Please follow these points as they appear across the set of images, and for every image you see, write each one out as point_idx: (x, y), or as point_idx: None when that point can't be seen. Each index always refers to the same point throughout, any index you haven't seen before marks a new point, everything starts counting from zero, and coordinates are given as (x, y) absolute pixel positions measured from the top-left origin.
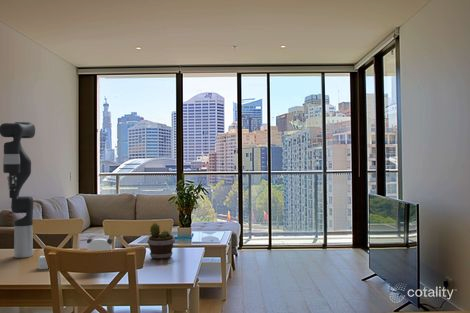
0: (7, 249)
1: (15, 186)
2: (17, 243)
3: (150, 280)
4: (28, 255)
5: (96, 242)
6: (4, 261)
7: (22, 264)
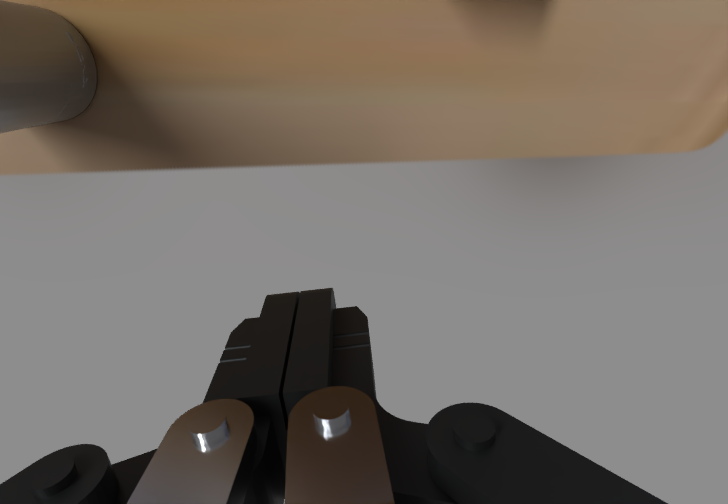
0: None
1: (632, 486)
2: (33, 111)
3: None
4: (75, 34)
5: None
6: (168, 169)
7: (296, 72)
